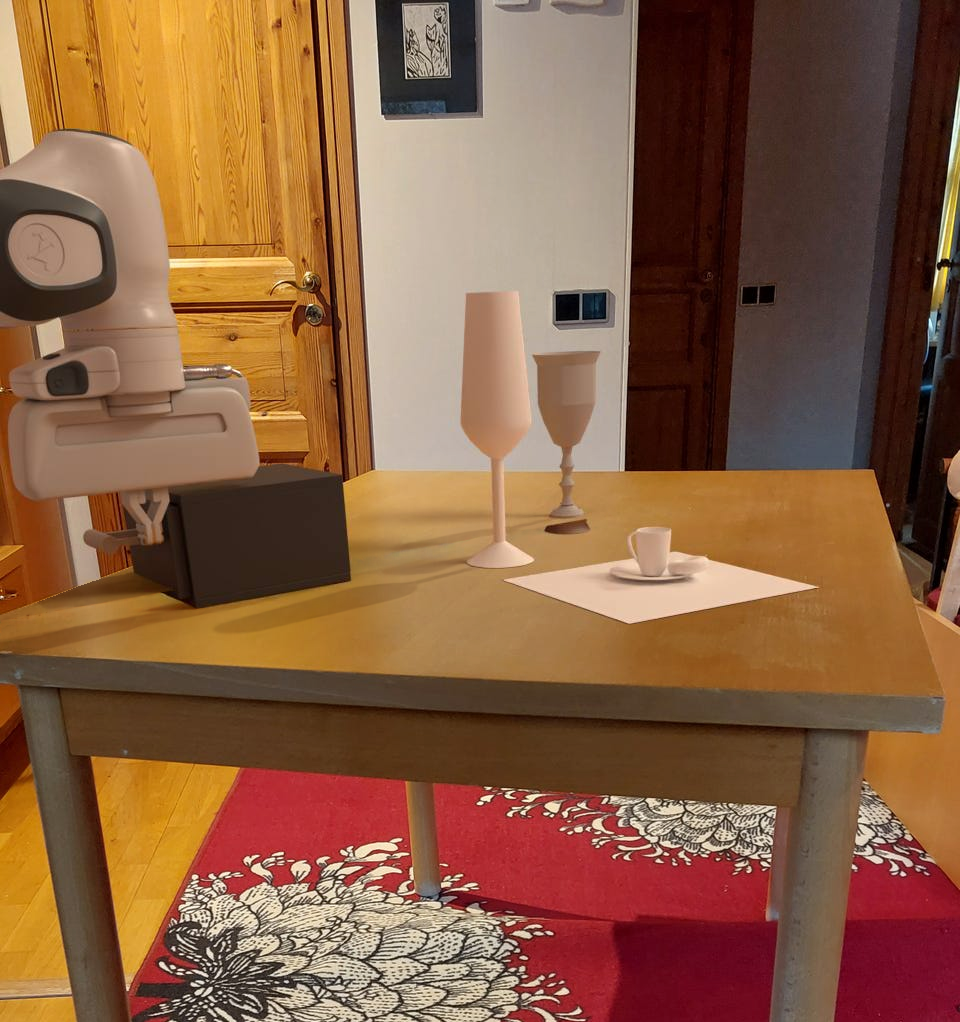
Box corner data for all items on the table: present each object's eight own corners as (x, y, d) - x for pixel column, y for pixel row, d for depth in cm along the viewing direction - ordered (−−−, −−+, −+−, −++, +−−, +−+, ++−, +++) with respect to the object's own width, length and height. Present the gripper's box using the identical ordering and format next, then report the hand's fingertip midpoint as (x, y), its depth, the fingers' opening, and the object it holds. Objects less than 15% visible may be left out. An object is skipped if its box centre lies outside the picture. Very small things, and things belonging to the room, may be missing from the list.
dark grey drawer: (123, 609, 99) (107, 515, 96) (82, 588, 107) (66, 501, 104) (326, 573, 109) (317, 487, 106) (274, 556, 117) (265, 476, 114)
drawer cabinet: (196, 608, 102) (179, 495, 98) (146, 586, 111) (129, 481, 107) (351, 580, 110) (342, 474, 106) (293, 561, 119) (282, 463, 115)
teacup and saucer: (721, 578, 105) (723, 531, 103) (649, 591, 101) (650, 543, 100) (662, 562, 112) (663, 518, 110) (592, 573, 108) (592, 529, 107)
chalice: (580, 521, 133) (580, 350, 126) (611, 530, 128) (613, 351, 120) (523, 528, 131) (520, 354, 123) (552, 538, 125) (550, 355, 117)
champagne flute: (541, 554, 118) (537, 290, 107) (523, 568, 112) (517, 290, 101) (478, 552, 119) (468, 293, 109) (457, 566, 114) (444, 294, 103)
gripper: (230, 361, 102) (248, 524, 107) (-13, 374, 91) (21, 554, 97) (262, 362, 97) (279, 533, 103) (9, 376, 86) (44, 565, 92)
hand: (152, 544), depth 100 cm, fingers closed, pressing on dark grey drawer
